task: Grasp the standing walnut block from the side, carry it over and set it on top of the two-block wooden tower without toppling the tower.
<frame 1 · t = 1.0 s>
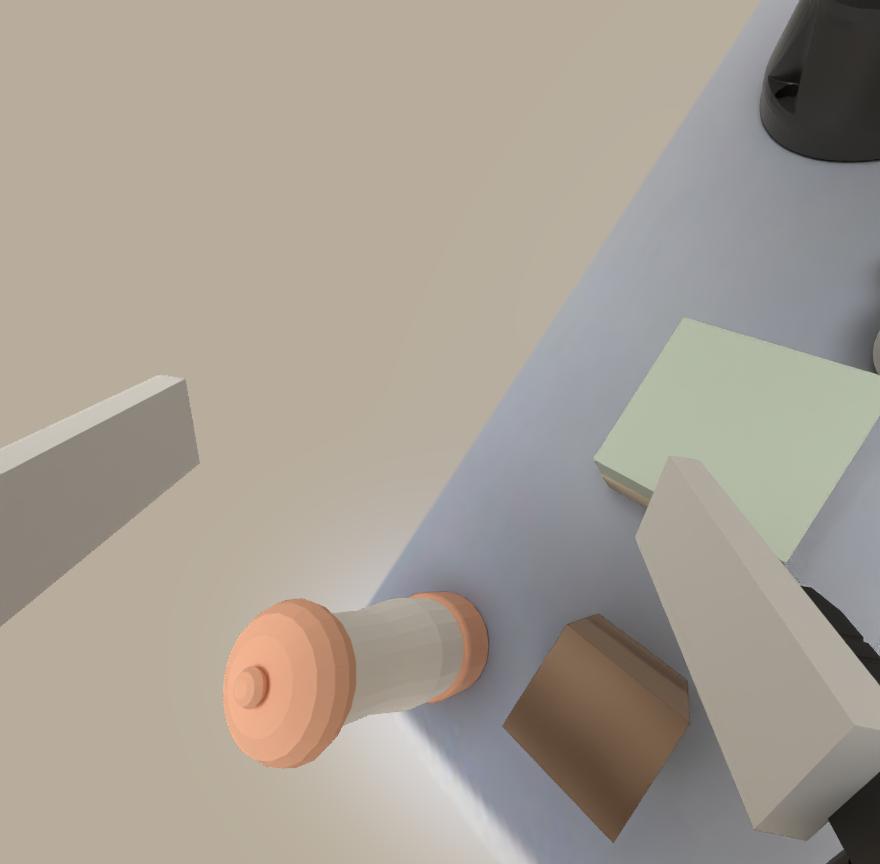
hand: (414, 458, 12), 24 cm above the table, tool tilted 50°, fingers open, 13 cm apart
pepper shaker: (447, 640, 34), on the table
tower top block: (722, 445, 26), point 4 cm above the table, touching tower bottom block
tower bottom block: (716, 464, 30), on the table, touching tower top block
walnut block: (615, 683, 28), on the table
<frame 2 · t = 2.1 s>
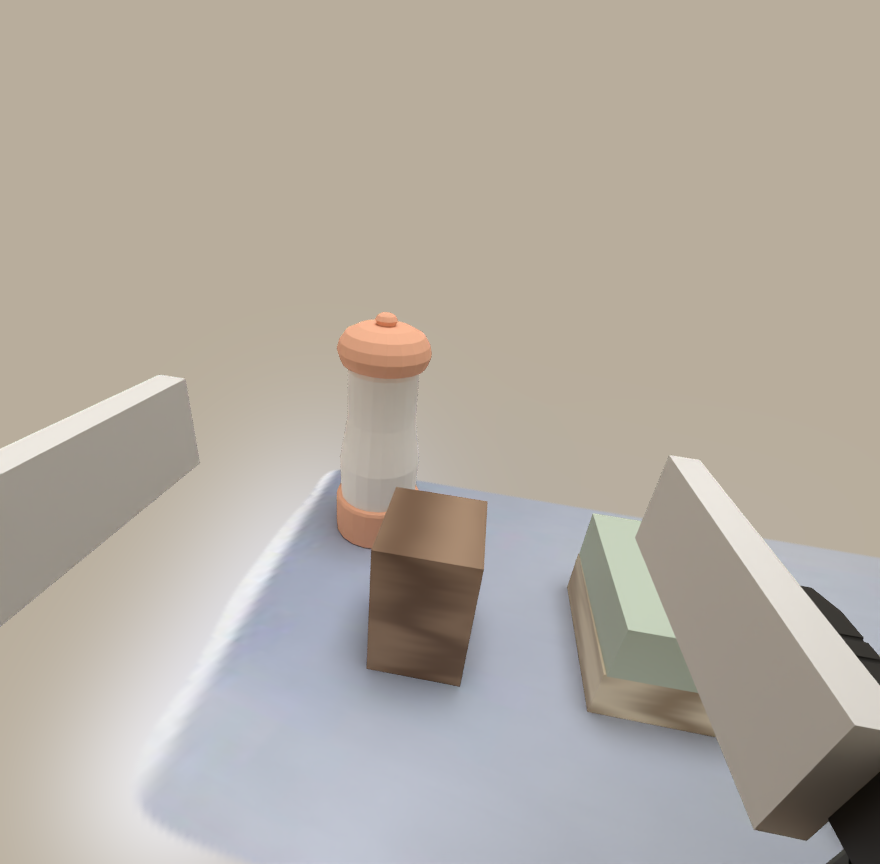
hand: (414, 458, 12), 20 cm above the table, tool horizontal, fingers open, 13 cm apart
pepper shaker: (377, 523, 40), on the table
tower top block: (666, 619, 29), point 4 cm above the table, touching tower bottom block
tower bottom block: (645, 656, 31), on the table, touching tower top block
walnut block: (420, 636, 30), on the table
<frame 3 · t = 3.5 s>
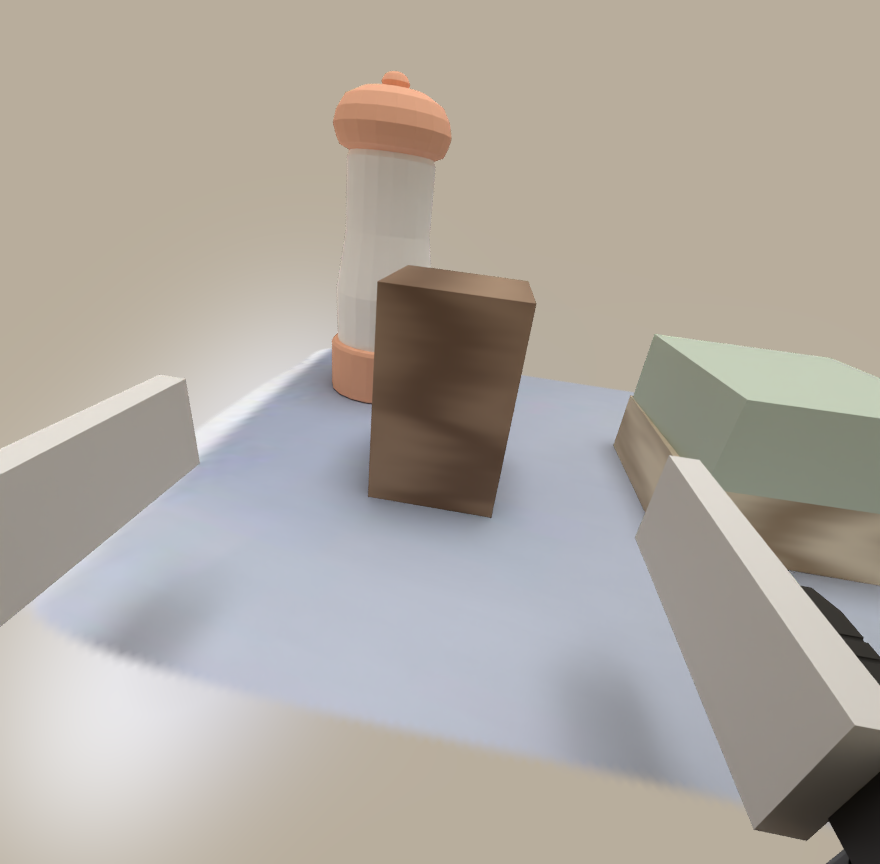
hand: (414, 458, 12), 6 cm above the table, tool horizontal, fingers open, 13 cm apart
pepper shaker: (380, 387, 34), on the table
tower top block: (759, 448, 22), point 4 cm above the table, touching tower bottom block
tower bottom block: (721, 507, 24), on the table, touching tower top block
walnut block: (437, 473, 23), on the table
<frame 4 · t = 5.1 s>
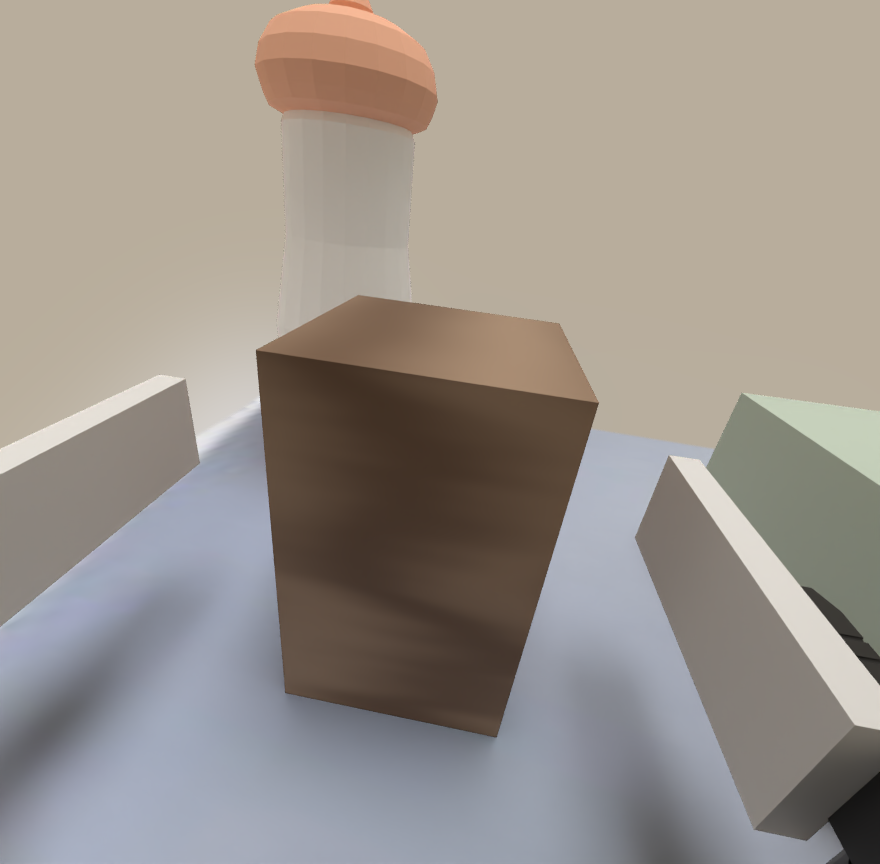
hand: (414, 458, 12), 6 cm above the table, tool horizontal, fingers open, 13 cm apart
pepper shaker: (345, 446, 25), on the table
walnut block: (410, 624, 15), on the table
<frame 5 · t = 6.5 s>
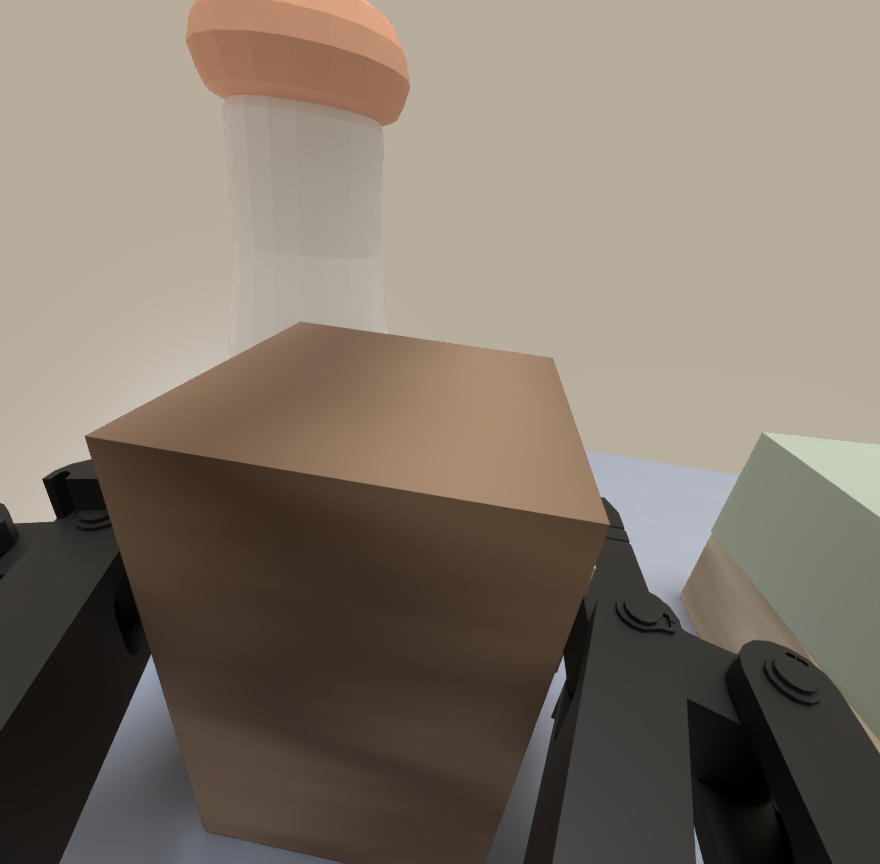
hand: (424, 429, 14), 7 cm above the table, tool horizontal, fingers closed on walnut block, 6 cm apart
pepper shaker: (316, 476, 22), on the table
walnut block: (373, 718, 12), on the table, touching gripper
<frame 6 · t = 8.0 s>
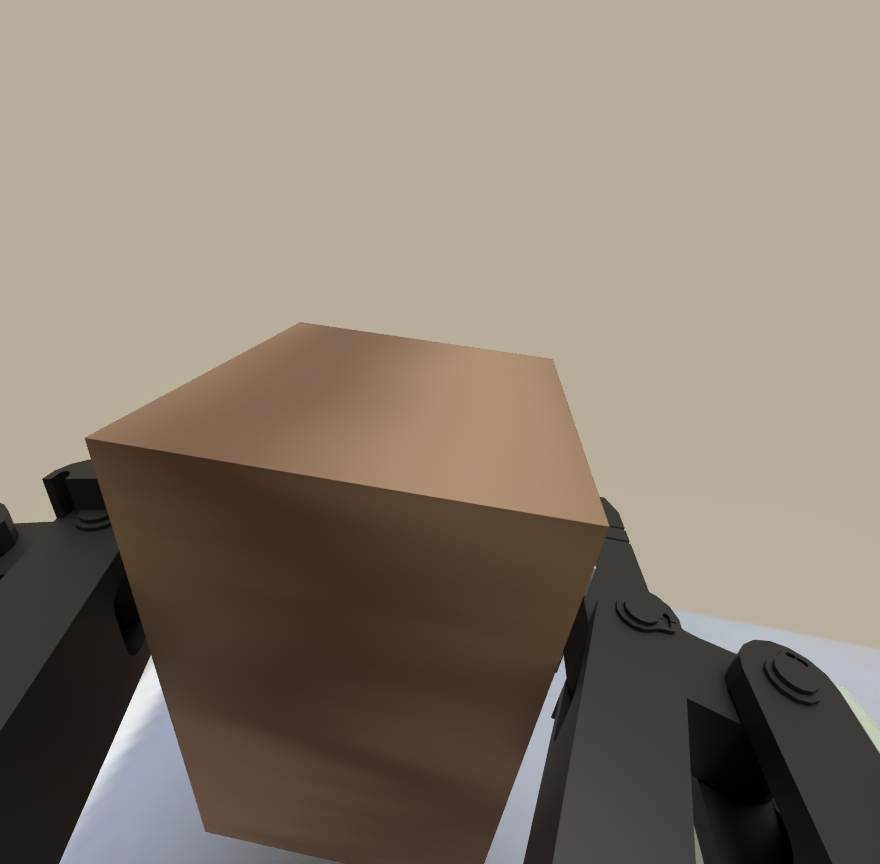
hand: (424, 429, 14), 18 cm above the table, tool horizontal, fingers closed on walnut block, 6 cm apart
walnut block: (373, 718, 12), point 12 cm above the table, touching gripper
when the fingers open (16 cm above the table, at t = 11.2 s): walnut block drops 2 cm, resting on tower top block.
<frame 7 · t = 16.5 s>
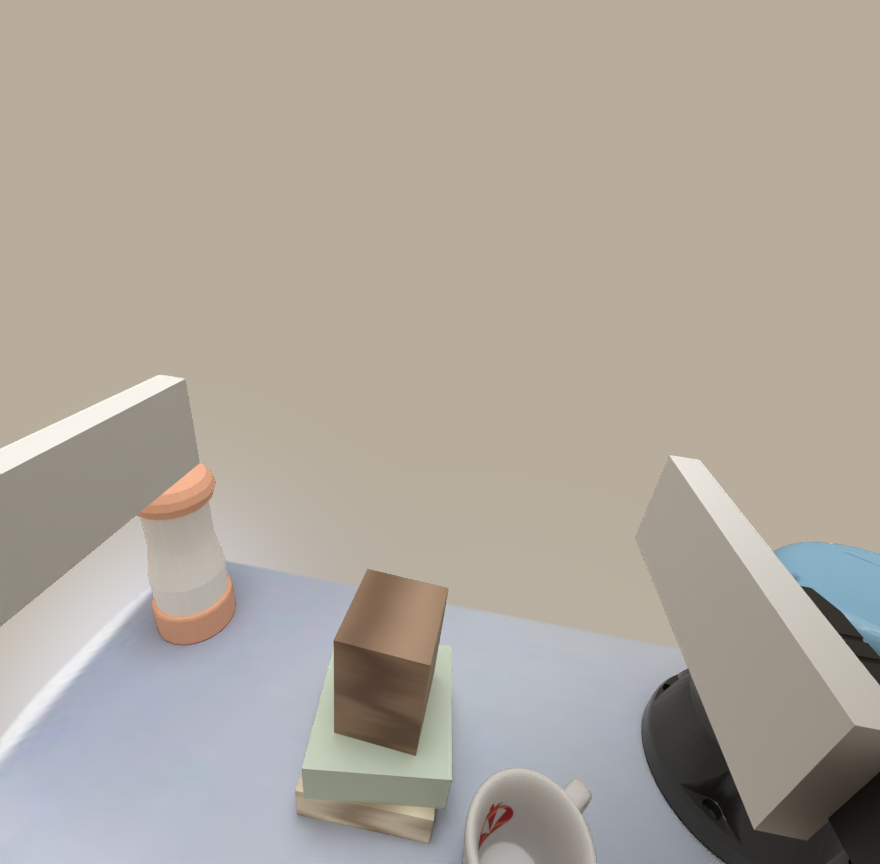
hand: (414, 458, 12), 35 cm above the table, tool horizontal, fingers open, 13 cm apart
pepper shaker: (198, 615, 46), on the table
tower top block: (384, 728, 35), point 3 cm above the table, touching tower bottom block, walnut block
tower bottom block: (379, 757, 37), on the table, touching tower top block
walnut block: (387, 702, 33), point 7 cm above the table, touching tower top block
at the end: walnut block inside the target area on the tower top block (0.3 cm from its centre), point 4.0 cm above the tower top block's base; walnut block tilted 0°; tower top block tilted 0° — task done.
